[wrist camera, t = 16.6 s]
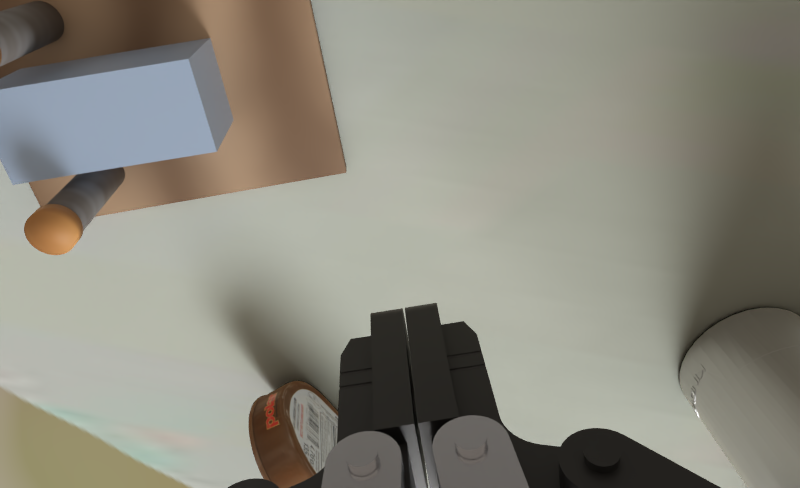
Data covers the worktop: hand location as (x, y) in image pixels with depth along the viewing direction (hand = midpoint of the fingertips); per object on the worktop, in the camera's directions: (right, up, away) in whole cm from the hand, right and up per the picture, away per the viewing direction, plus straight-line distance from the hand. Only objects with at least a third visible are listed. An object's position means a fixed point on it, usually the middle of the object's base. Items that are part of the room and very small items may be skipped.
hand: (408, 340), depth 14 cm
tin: (-4, -11, +29) cm, 31 cm away
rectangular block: (-13, +9, +16) cm, 23 cm away
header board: (-12, +10, +16) cm, 23 cm away
